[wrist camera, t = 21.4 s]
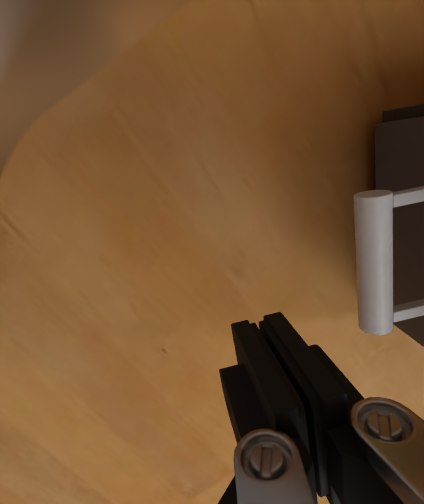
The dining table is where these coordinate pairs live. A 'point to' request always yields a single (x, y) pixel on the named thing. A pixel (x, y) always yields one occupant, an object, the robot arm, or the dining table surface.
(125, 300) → the dining table surface
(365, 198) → the drawer
